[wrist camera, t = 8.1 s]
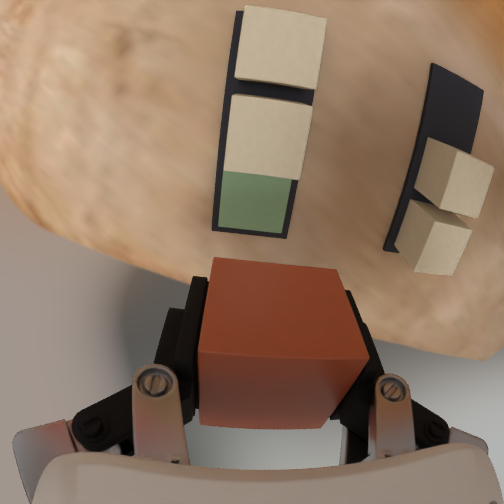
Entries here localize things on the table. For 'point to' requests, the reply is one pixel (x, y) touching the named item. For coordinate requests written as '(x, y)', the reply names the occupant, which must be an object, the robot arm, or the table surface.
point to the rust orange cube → (275, 346)
